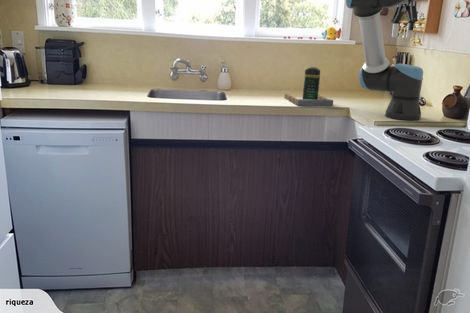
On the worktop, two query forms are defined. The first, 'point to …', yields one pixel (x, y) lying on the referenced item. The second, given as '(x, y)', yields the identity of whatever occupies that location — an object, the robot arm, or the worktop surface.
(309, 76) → the coffee jar
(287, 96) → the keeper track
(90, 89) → the worktop surface
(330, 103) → the end stop
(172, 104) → the worktop surface
